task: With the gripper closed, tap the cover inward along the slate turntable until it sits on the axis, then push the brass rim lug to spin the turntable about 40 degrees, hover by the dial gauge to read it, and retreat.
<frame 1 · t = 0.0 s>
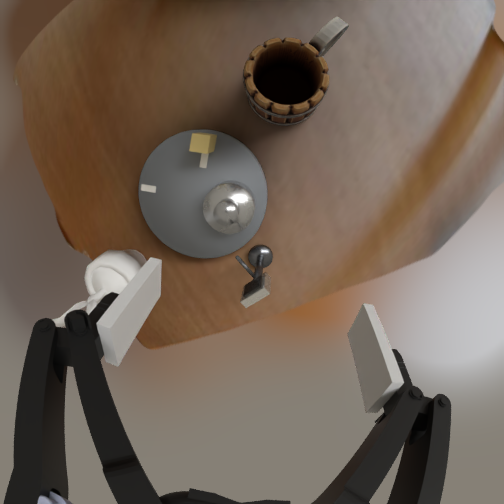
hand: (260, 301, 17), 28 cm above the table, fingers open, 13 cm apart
potted plant: (137, 264, 50), on the table
mug: (294, 81, 34), on the table
cover: (231, 203, 39), point 4 cm above the table, touching turntable
turntable: (196, 198, 38), point 5 cm above the table, hinge at 0.0°, touching cover
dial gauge: (260, 255, 47), on the table
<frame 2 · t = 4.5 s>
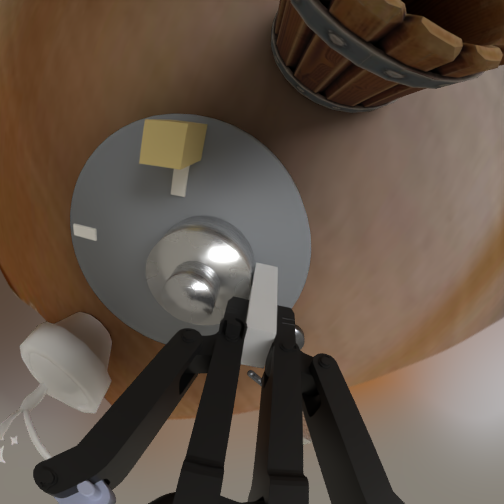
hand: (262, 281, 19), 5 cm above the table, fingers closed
potted plant: (96, 331, 31), on the table
mug: (358, 34, 15), on the table
cover: (206, 261, 20), point 4 cm above the table, touching gripper
turntable: (167, 259, 19), point 5 cm above the table, hinge at 0.0°
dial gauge: (284, 337, 27), on the table
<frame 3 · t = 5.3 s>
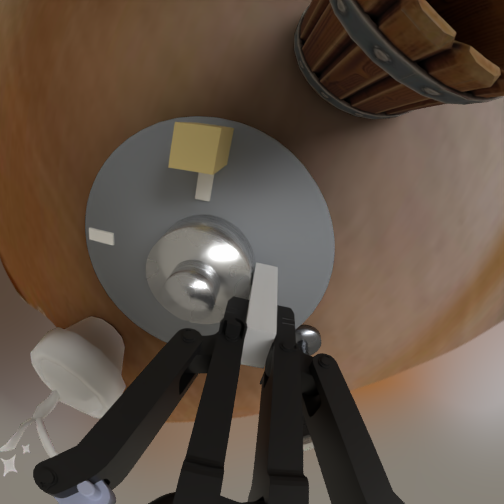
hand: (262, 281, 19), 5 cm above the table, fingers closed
potted plant: (107, 336, 31), on the table
mug: (377, 41, 15), on the table
cover: (206, 260, 20), point 4 cm above the table, touching gripper, turntable
turntable: (191, 264, 19), point 5 cm above the table, hinge at 0.0°, touching cover
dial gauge: (301, 339, 27), on the table
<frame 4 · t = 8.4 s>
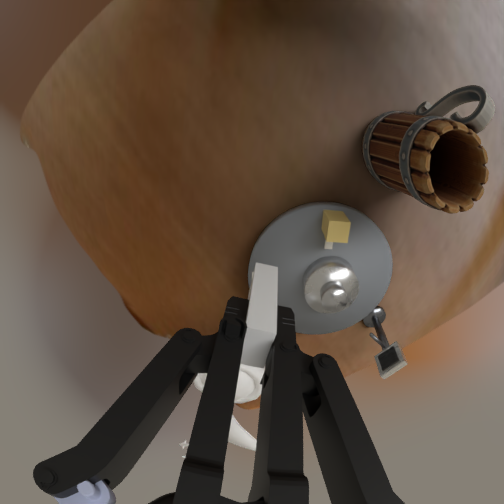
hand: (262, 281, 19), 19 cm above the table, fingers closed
potted plant: (238, 342, 47), on the table
mug: (404, 135, 30), on the table
cover: (328, 279, 35), point 4 cm above the table, touching turntable
turntable: (324, 283, 35), point 5 cm above the table, hinge at 0.0°, touching cover
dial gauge: (373, 315, 42), on the table
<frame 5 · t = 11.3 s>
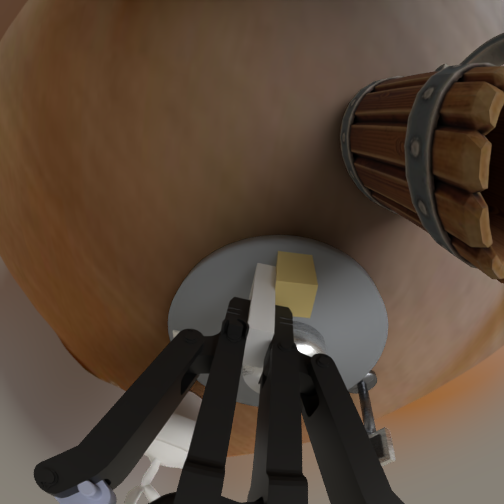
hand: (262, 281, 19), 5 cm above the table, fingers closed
potted plant: (187, 399, 35), on the table
mug: (411, 120, 17), on the table
cover: (286, 350, 23), point 4 cm above the table, touching turntable
turntable: (276, 357, 22), point 5 cm above the table, hinge at -4.1°, touching cover, gripper
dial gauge: (360, 379, 29), on the table
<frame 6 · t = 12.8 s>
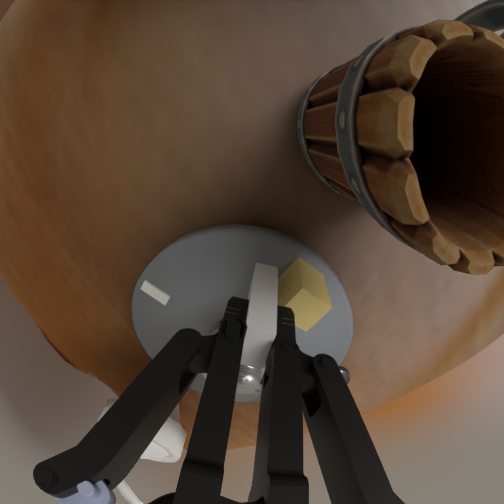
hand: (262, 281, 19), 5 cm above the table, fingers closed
potted plant: (161, 391, 35), on the table
mug: (377, 106, 17), on the table
cover: (245, 345, 23), point 4 cm above the table, touching turntable
turntable: (236, 349, 22), point 5 cm above the table, hinge at -33.0°, touching cover
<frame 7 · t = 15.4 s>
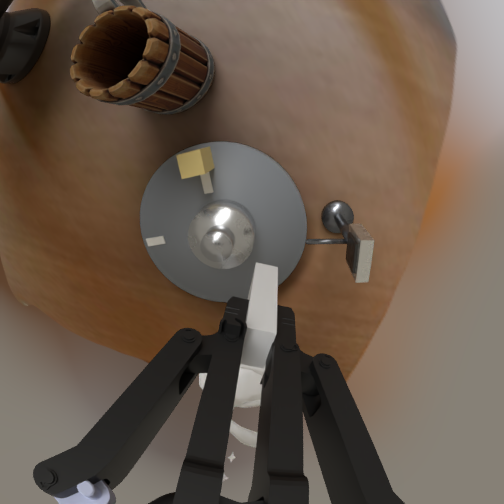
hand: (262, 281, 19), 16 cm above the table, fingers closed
potted plant: (249, 339, 43), on the table
mug: (170, 59, 26), on the table
cover: (225, 229, 31), point 4 cm above the table, touching turntable
turntable: (216, 233, 30), point 5 cm above the table, hinge at -33.0°, touching cover
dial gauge: (336, 215, 33), on the table
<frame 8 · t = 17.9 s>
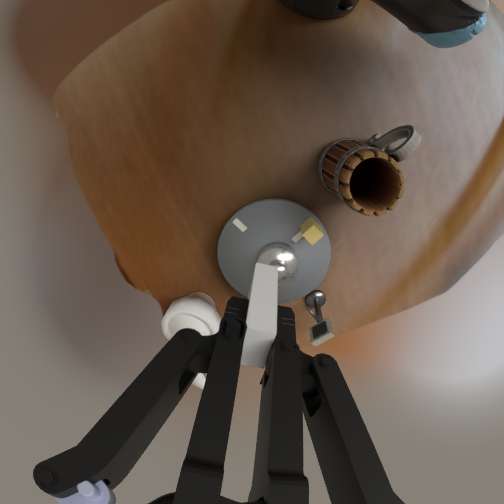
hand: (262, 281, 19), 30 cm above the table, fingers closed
potted plant: (202, 304, 59), on the table
mug: (356, 157, 42), on the table
cover: (277, 259, 48), point 4 cm above the table, touching turntable
turntable: (274, 259, 47), point 5 cm above the table, hinge at -33.0°, touching cover
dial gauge: (315, 298, 55), on the table
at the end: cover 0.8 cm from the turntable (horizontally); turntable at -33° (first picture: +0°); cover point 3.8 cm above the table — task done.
